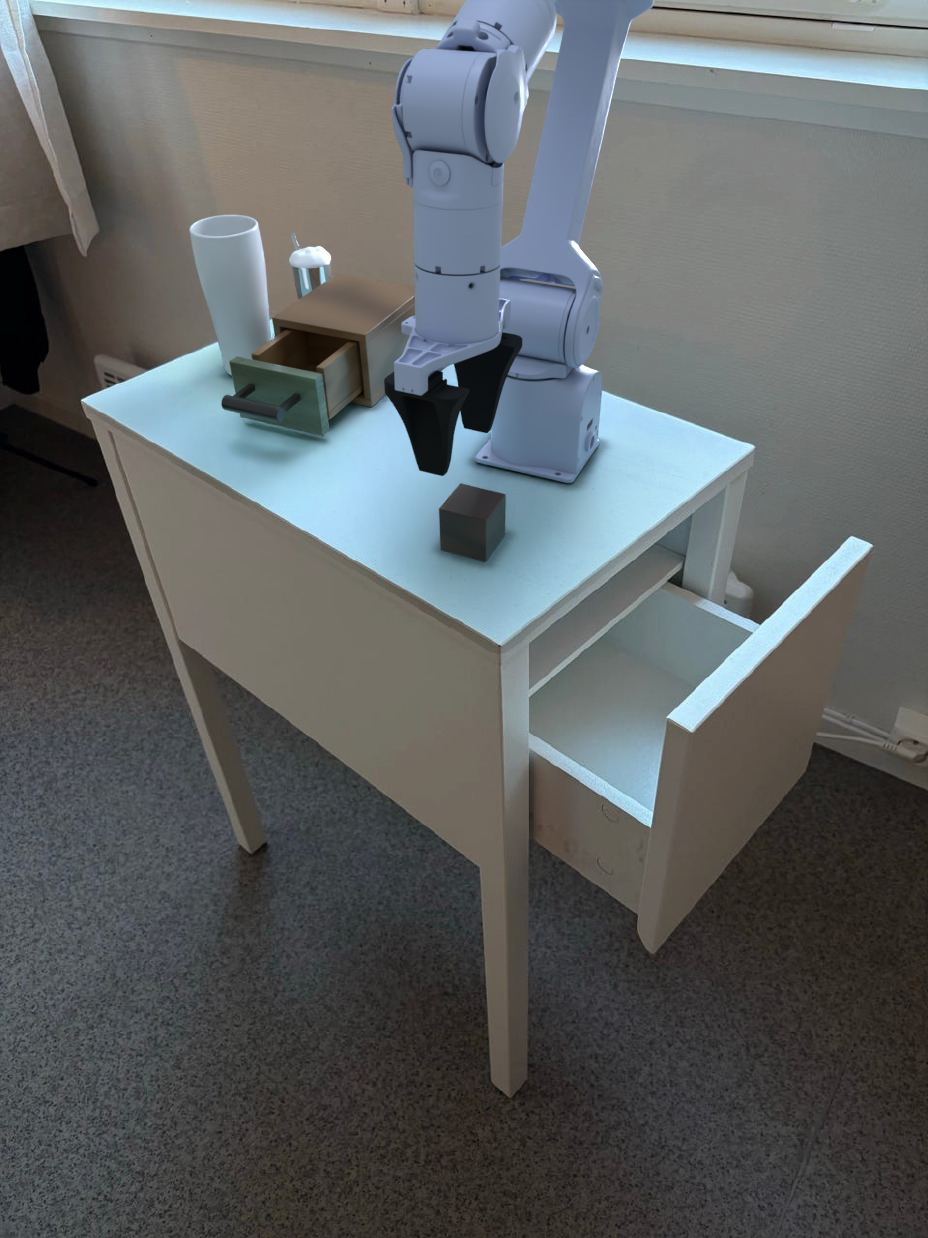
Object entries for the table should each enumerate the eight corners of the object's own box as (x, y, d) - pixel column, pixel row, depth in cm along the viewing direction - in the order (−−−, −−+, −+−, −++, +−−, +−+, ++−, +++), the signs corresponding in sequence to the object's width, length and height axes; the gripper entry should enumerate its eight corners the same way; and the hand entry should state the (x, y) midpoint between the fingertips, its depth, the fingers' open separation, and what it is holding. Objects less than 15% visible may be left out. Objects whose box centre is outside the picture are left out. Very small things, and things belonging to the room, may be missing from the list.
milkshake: (320, 315, 109) (310, 228, 103) (346, 329, 106) (336, 240, 99) (288, 326, 107) (274, 238, 100) (312, 340, 104) (301, 250, 97)
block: (505, 534, 75) (506, 493, 72) (485, 562, 72) (485, 520, 70) (461, 523, 76) (460, 482, 74) (440, 550, 74) (438, 508, 71)
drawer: (298, 458, 83) (289, 399, 79) (213, 437, 86) (201, 380, 82) (381, 383, 94) (377, 329, 90) (303, 367, 97) (296, 314, 93)
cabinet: (372, 407, 92) (365, 334, 87) (282, 388, 95) (271, 317, 90) (428, 356, 100) (425, 287, 95) (344, 340, 104) (337, 273, 99)
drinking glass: (206, 368, 99) (175, 224, 89) (260, 349, 102) (235, 209, 92) (239, 390, 95) (210, 242, 85) (294, 369, 98) (272, 225, 89)
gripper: (451, 228, 67) (450, 402, 75) (348, 284, 57) (360, 479, 65) (540, 241, 65) (530, 419, 73) (450, 302, 54) (450, 502, 62)
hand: (456, 449), depth 69 cm, fingers open, 7 cm apart
